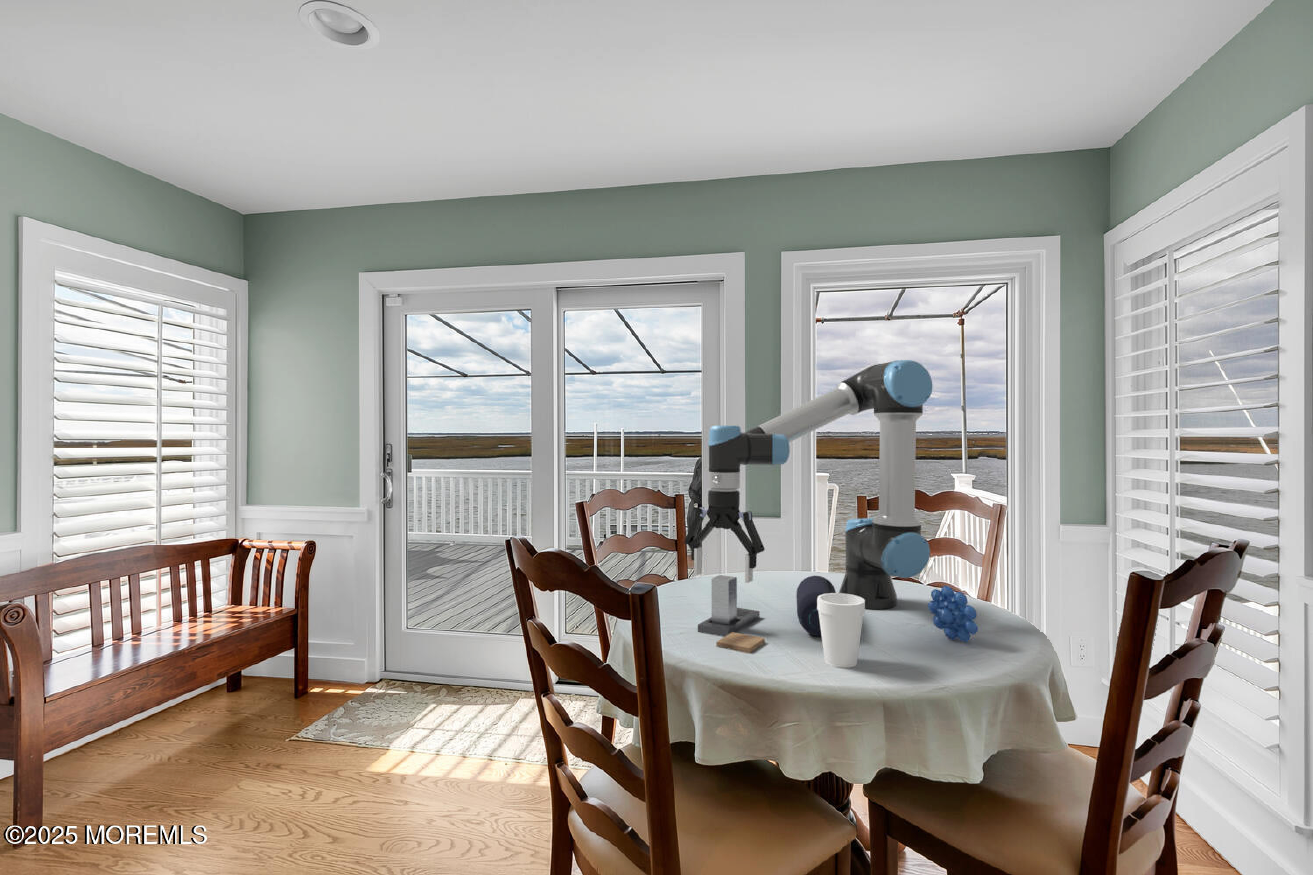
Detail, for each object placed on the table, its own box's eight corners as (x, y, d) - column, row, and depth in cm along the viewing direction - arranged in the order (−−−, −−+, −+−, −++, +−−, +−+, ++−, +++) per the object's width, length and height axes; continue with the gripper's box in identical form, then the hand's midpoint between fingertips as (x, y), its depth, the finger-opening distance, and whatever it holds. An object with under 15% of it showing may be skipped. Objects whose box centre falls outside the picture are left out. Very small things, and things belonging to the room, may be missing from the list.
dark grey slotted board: (759, 617, 165) (759, 610, 165) (728, 637, 150) (728, 629, 150) (730, 612, 169) (730, 606, 169) (697, 631, 154) (697, 624, 154)
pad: (764, 642, 146) (764, 637, 146) (749, 652, 139) (749, 648, 139) (732, 636, 150) (732, 631, 150) (716, 646, 143) (716, 641, 143)
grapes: (917, 636, 149) (917, 584, 149) (934, 631, 153) (934, 580, 153) (966, 650, 140) (967, 595, 140) (983, 644, 144) (983, 590, 144)
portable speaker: (842, 641, 146) (842, 597, 146) (797, 639, 148) (797, 595, 148) (835, 610, 171) (835, 572, 171) (796, 608, 173) (796, 571, 173)
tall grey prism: (736, 626, 158) (736, 577, 157) (728, 631, 154) (728, 580, 153) (720, 623, 160) (720, 574, 160) (711, 628, 156) (711, 578, 156)
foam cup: (811, 654, 138) (811, 593, 138) (853, 653, 139) (853, 592, 139) (826, 671, 129) (826, 605, 128) (872, 669, 129) (872, 604, 129)
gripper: (671, 487, 160) (670, 573, 160) (766, 494, 146) (765, 588, 147) (686, 485, 166) (685, 568, 166) (779, 491, 153) (777, 581, 153)
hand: (722, 577), depth 157 cm, fingers open, 13 cm apart
